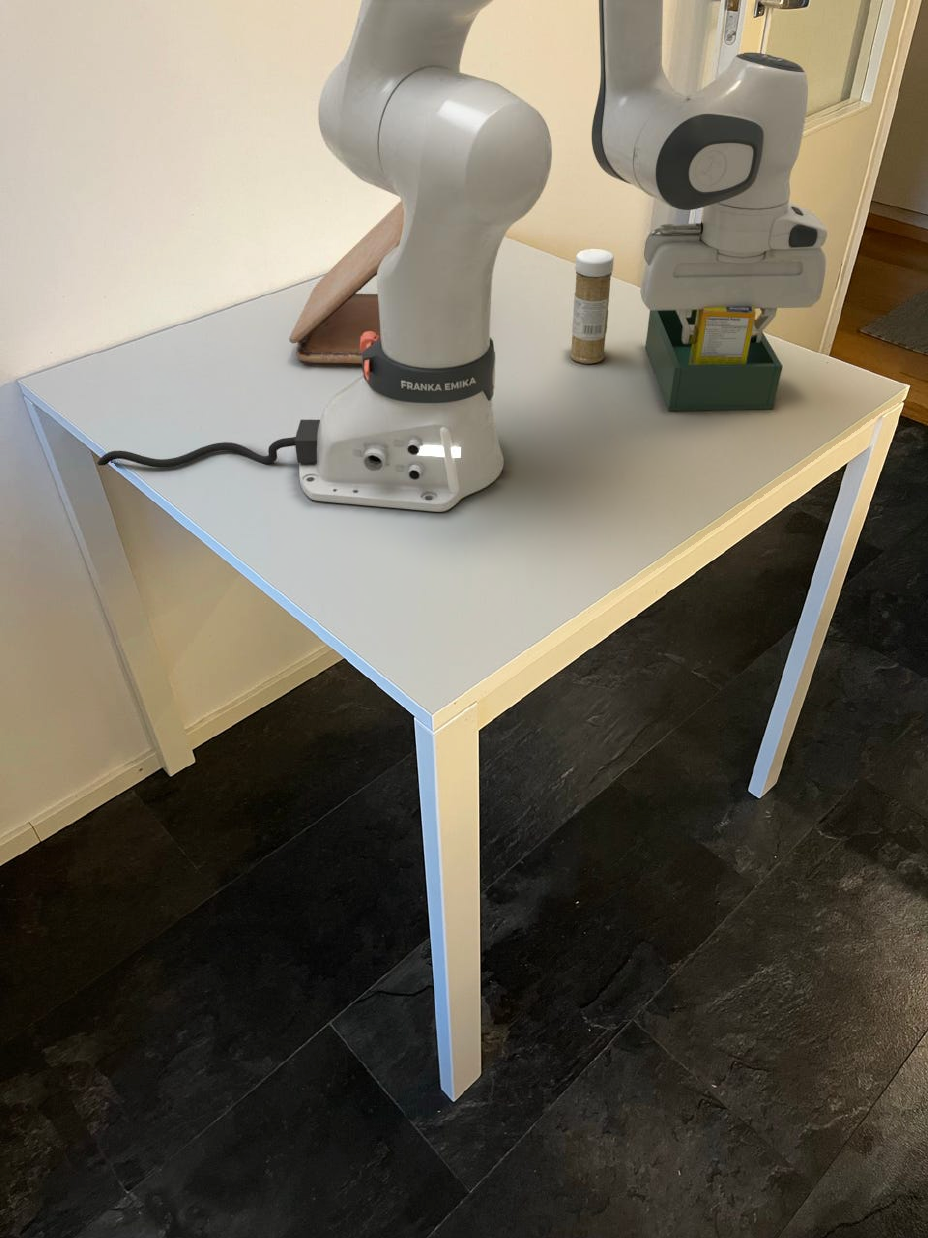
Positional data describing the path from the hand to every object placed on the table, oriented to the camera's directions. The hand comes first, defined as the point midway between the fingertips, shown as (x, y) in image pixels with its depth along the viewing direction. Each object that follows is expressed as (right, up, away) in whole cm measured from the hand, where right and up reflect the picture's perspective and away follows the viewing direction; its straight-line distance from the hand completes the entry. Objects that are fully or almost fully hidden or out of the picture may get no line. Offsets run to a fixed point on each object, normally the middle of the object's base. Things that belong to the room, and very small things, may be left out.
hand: (720, 341), depth 114 cm
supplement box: (0, -5, +4) cm, 6 cm away
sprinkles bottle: (-15, +1, +11) cm, 18 cm away
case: (-42, +6, +17) cm, 46 cm away
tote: (0, -3, +7) cm, 7 cm away
